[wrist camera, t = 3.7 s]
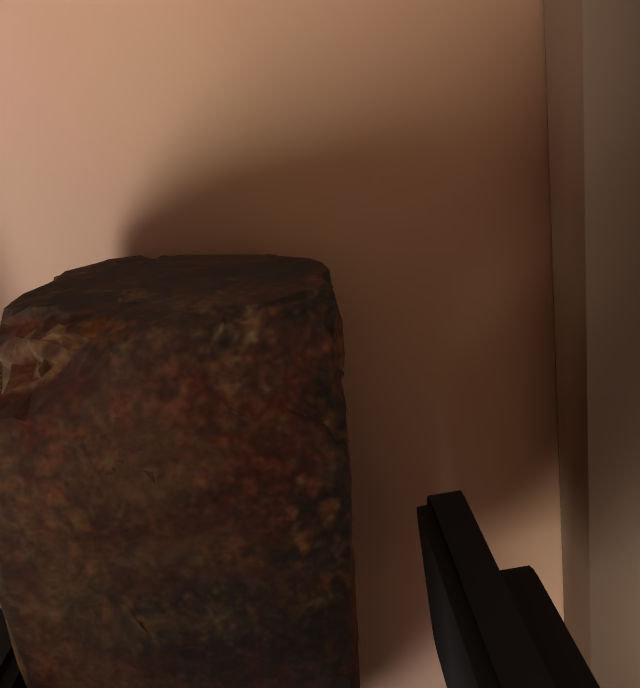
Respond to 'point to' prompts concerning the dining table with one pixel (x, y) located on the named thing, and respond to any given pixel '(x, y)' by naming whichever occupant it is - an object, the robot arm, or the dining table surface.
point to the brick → (178, 477)
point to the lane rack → (597, 322)
